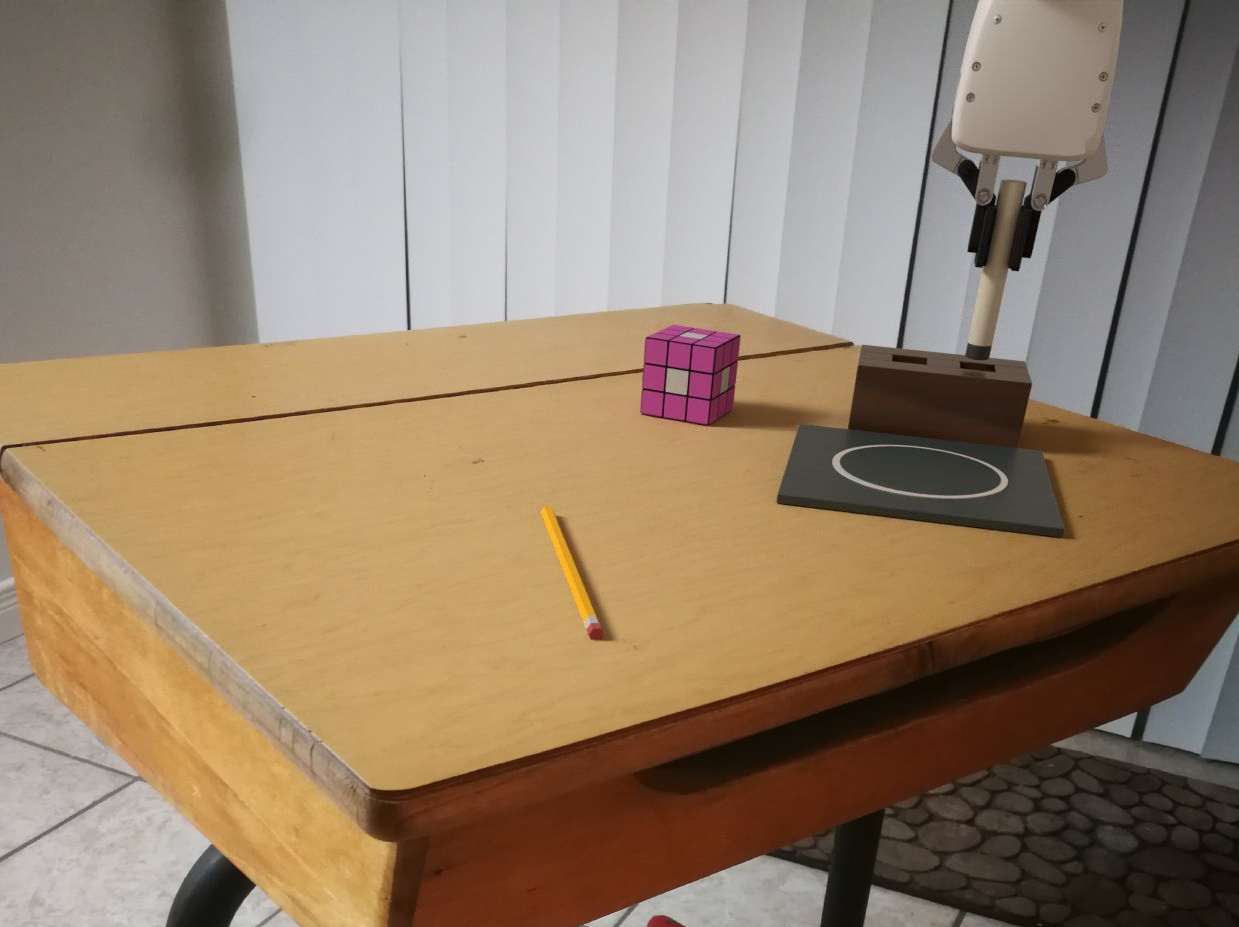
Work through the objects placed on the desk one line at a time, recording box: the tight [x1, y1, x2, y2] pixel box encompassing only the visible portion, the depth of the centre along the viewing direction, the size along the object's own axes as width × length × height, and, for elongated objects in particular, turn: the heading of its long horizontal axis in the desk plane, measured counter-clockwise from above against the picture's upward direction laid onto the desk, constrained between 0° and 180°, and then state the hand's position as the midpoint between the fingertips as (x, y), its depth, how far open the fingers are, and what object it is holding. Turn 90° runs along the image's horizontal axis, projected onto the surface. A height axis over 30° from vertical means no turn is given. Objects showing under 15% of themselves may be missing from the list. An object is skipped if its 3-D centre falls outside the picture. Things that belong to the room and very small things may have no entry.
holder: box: [847, 344, 1033, 448], centre depth 99 cm, size 8×13×5 cm, turn 78°
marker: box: [964, 178, 1028, 360], centre depth 94 cm, size 2×2×12 cm
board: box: [776, 423, 1065, 538], centre depth 89 cm, size 18×18×1 cm
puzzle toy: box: [639, 324, 742, 426], centre depth 99 cm, size 6×6×6 cm
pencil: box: [540, 505, 605, 641], centre depth 71 cm, size 1×18×1 cm, turn 11°
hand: (996, 264), depth 94 cm, fingers closed on marker, 1 cm apart
